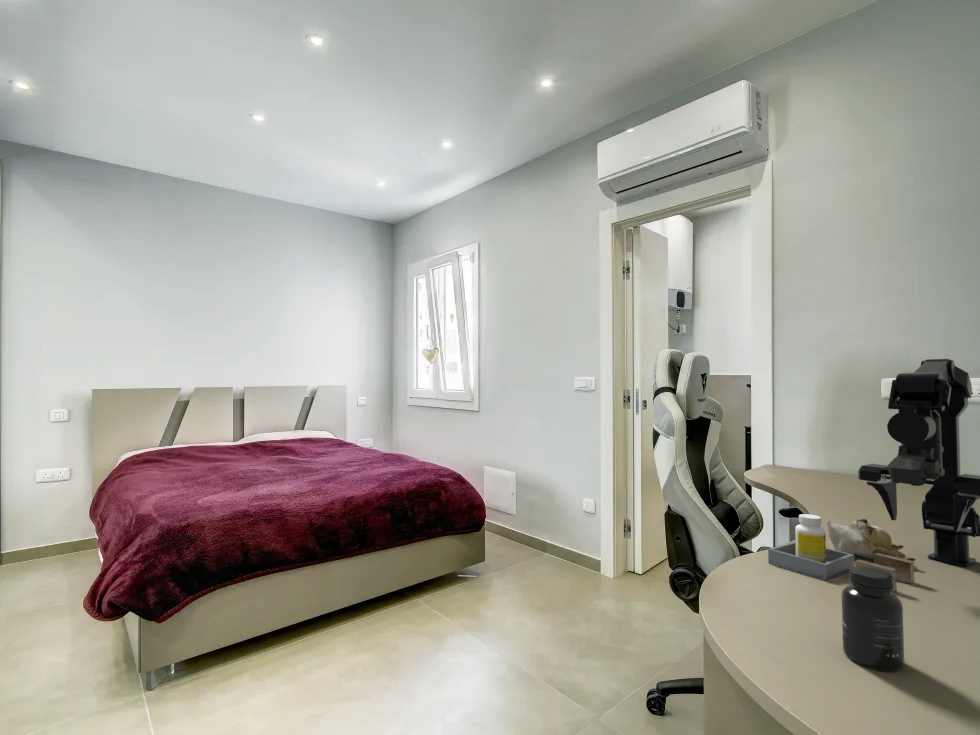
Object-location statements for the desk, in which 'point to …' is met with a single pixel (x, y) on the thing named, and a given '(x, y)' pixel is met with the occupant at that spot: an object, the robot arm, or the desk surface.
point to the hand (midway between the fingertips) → (923, 525)
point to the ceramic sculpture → (863, 540)
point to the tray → (811, 562)
